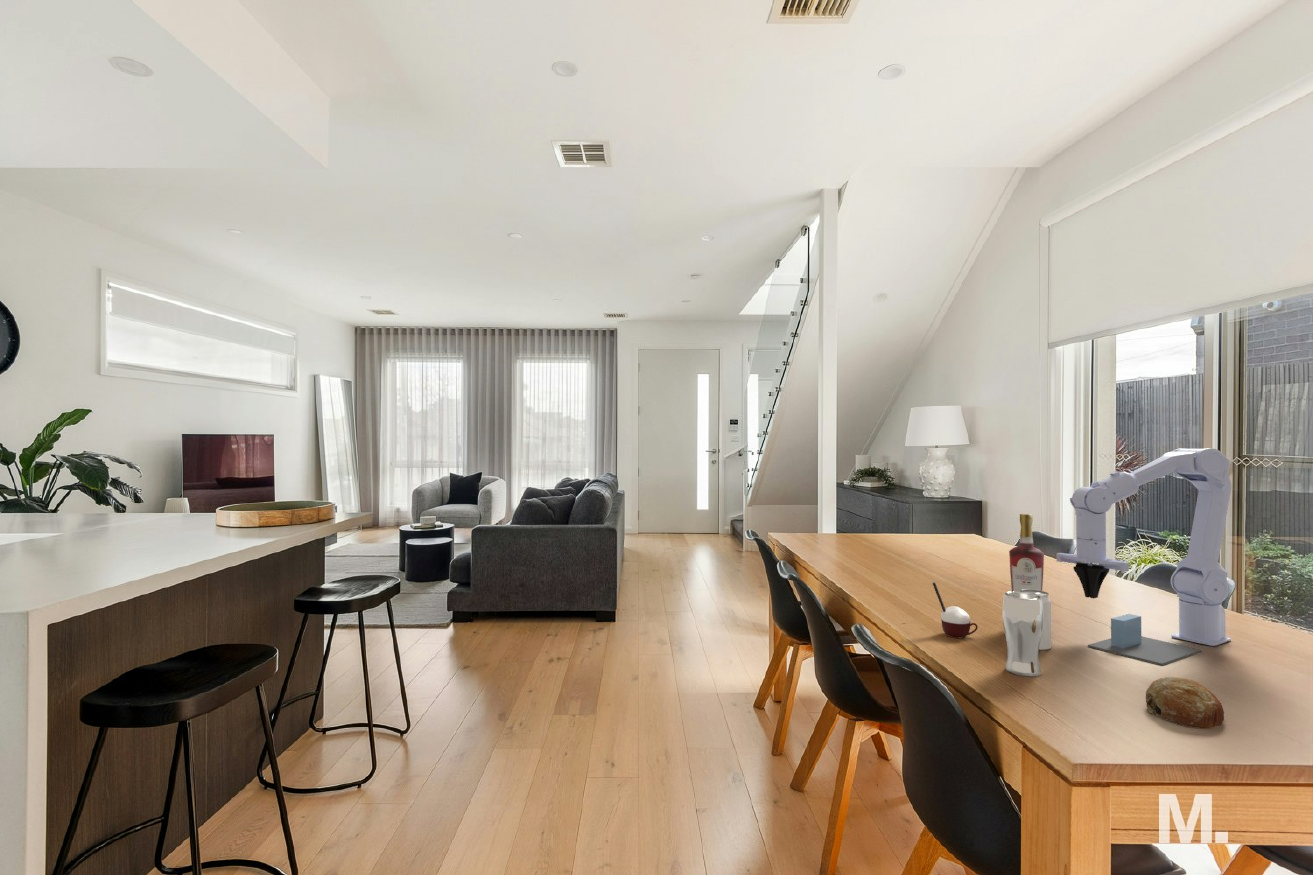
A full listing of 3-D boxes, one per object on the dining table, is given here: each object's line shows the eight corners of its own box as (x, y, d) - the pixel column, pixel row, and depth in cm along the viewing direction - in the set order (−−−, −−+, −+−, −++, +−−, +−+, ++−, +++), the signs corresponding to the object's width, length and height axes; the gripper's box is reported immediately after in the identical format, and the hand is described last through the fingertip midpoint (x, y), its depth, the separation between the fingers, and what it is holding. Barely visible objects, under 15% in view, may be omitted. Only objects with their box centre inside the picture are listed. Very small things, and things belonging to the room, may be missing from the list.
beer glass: (1038, 667, 127) (1038, 592, 127) (1047, 679, 121) (1047, 600, 121) (999, 663, 130) (999, 590, 130) (1006, 675, 123) (1006, 597, 123)
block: (1128, 640, 144) (1128, 613, 144) (1141, 643, 142) (1141, 616, 142) (1110, 645, 140) (1110, 618, 140) (1123, 648, 138) (1123, 620, 138)
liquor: (1045, 628, 154) (1044, 513, 155) (1044, 636, 148) (1043, 516, 149) (1010, 624, 158) (1009, 512, 159) (1008, 631, 152) (1007, 514, 153)
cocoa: (979, 638, 148) (982, 587, 148) (967, 643, 144) (970, 590, 144) (939, 628, 155) (941, 579, 155) (927, 632, 151) (929, 581, 151)
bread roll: (1140, 725, 109) (1121, 683, 109) (1190, 698, 110) (1171, 657, 110) (1194, 753, 99) (1173, 707, 99) (1247, 723, 100) (1227, 677, 100)
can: (1056, 651, 137) (1056, 596, 137) (1023, 649, 138) (1023, 594, 139) (1044, 642, 143) (1044, 589, 144) (1013, 640, 145) (1013, 588, 145)
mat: (1128, 634, 150) (1128, 633, 150) (1201, 651, 137) (1201, 649, 137) (1087, 646, 141) (1087, 644, 141) (1162, 665, 128) (1162, 663, 129)
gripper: (1049, 536, 152) (1049, 592, 152) (1117, 544, 139) (1117, 606, 139) (1065, 534, 155) (1065, 589, 155) (1133, 541, 143) (1133, 602, 143)
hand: (1091, 597), depth 147 cm, fingers closed
